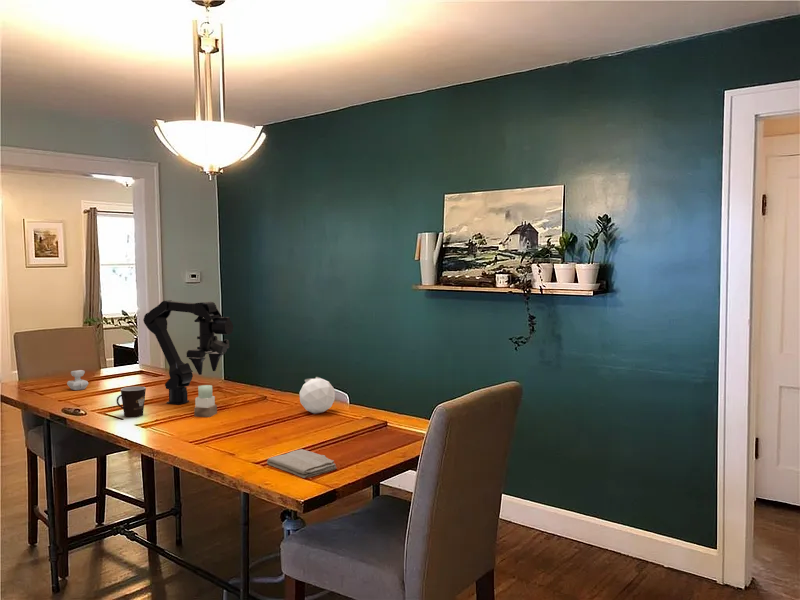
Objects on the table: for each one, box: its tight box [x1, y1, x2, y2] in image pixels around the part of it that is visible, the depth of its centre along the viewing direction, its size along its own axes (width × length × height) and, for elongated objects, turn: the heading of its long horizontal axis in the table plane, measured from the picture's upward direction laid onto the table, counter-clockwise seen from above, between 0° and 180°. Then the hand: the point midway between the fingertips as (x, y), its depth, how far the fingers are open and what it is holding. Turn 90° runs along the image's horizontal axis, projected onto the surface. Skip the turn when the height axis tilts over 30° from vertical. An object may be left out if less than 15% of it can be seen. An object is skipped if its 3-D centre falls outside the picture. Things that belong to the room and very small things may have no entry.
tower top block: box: [194, 395, 216, 408], centre depth 236 cm, size 5×5×4 cm
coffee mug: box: [116, 386, 147, 418], centre depth 233 cm, size 12×9×10 cm
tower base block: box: [193, 404, 218, 418], centre depth 236 cm, size 6×6×4 cm
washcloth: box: [266, 448, 338, 479], centre depth 176 cm, size 12×18×3 cm, turn 48°
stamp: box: [66, 369, 89, 391], centre depth 282 cm, size 9×7×8 cm
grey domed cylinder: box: [197, 384, 213, 398], centre depth 235 cm, size 5×5×4 cm
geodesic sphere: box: [299, 376, 336, 414], centre depth 241 cm, size 14×14×14 cm
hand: (207, 372), depth 251 cm, fingers open, 9 cm apart
